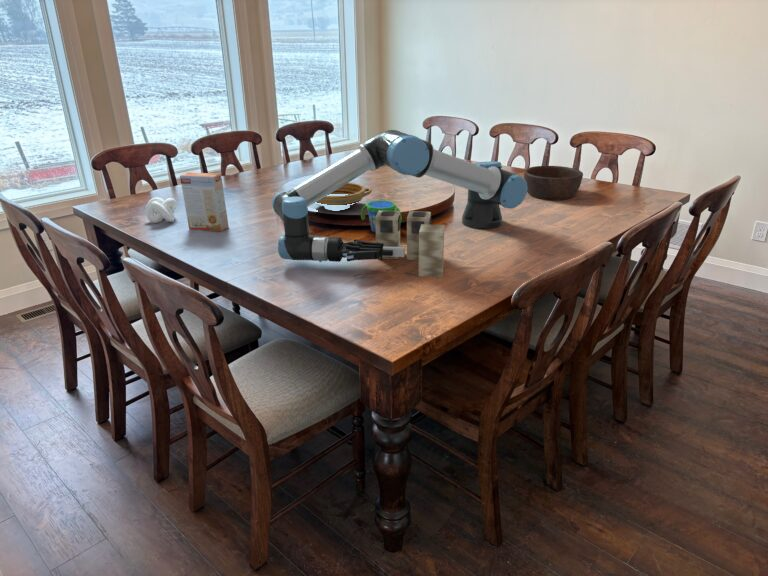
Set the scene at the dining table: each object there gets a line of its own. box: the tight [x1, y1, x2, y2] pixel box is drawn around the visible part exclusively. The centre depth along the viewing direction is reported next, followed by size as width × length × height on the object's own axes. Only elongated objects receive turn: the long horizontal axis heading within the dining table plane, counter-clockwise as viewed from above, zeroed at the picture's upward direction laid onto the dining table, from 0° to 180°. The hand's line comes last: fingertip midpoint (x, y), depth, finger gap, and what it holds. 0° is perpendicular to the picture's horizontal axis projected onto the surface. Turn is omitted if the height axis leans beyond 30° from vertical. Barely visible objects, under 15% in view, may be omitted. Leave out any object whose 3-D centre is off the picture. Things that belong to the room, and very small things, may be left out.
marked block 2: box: [375, 210, 401, 260], centre depth 180 cm, size 7×7×14 cm
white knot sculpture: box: [145, 197, 178, 224], centre depth 219 cm, size 11×12×9 cm
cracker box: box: [179, 172, 229, 232], centre depth 207 cm, size 14×6×21 cm, turn 74°
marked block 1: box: [406, 210, 432, 261], centre depth 178 cm, size 7×7×14 cm
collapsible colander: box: [317, 182, 372, 205], centre depth 232 cm, size 30×24×8 cm
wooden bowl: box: [523, 165, 584, 201], centre depth 245 cm, size 25×25×10 cm
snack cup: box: [360, 199, 403, 233], centre depth 203 cm, size 16×10×10 cm
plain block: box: [418, 224, 445, 278], centre depth 166 cm, size 7×7×14 cm
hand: (404, 252), depth 168 cm, fingers closed
